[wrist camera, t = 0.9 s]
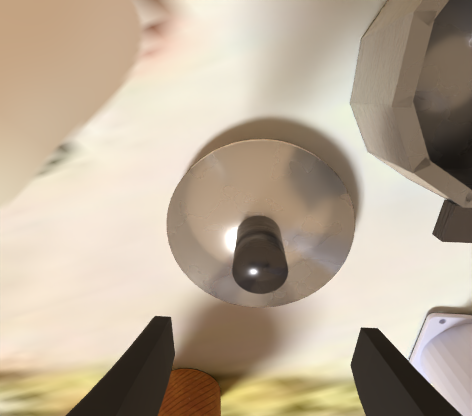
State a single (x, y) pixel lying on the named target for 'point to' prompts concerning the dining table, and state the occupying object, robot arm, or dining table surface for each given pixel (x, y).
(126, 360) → the robot arm
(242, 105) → the dining table surface
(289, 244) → the lid
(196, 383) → the disposable coffee cup
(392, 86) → the pot
